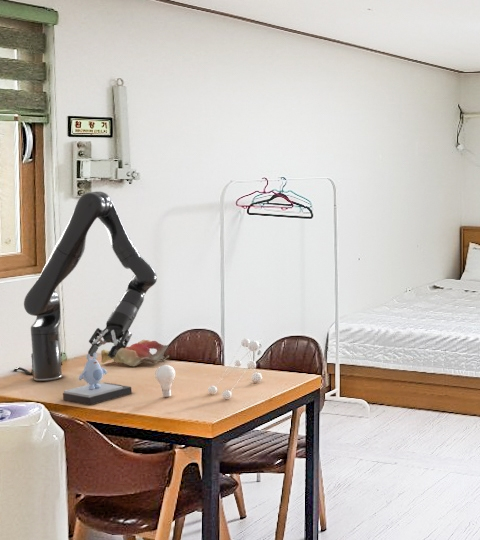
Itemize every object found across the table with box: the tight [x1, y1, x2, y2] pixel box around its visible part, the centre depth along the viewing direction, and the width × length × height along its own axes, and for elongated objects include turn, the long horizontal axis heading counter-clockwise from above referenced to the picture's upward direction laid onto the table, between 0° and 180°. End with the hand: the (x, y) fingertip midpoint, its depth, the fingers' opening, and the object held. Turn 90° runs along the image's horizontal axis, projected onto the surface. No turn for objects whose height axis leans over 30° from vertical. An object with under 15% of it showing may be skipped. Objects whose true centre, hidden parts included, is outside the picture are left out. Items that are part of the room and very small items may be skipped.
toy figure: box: [78, 352, 108, 390], centre depth 292 cm, size 11×6×12 cm, turn 150°
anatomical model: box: [100, 339, 170, 367], centre depth 347 cm, size 23×25×10 cm
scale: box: [62, 382, 133, 406], centre depth 294 cm, size 14×16×3 cm
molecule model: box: [207, 338, 263, 400], centre depth 299 cm, size 14×25×18 cm, turn 155°
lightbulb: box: [154, 364, 177, 398], centre depth 292 cm, size 6×6×11 cm
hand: (100, 356), depth 296 cm, fingers open, 8 cm apart
